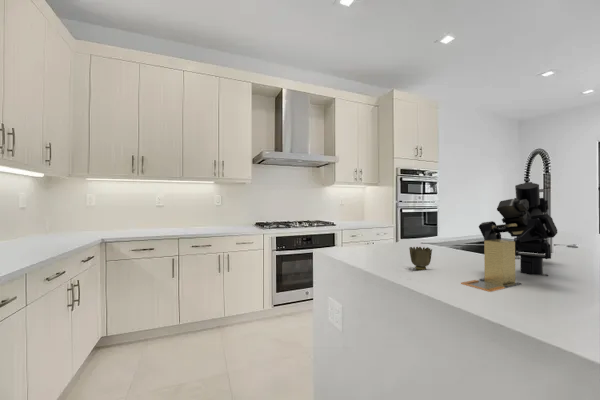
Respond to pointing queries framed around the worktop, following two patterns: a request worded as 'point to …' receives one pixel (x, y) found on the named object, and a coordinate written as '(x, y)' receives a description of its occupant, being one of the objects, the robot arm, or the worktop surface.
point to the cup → (420, 257)
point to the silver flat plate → (487, 285)
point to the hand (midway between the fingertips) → (501, 241)
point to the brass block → (499, 261)
